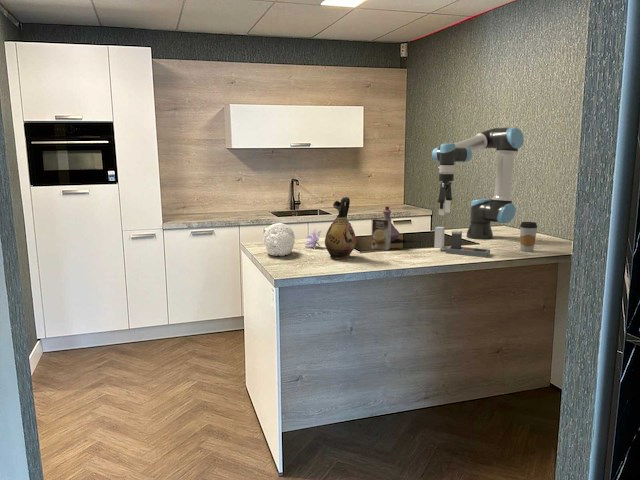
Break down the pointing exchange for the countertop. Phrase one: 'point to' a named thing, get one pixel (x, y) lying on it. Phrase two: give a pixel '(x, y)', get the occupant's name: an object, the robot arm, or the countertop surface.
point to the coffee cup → (527, 236)
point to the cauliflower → (279, 239)
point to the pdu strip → (467, 251)
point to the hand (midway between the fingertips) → (444, 213)
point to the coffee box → (381, 233)
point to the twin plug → (456, 240)
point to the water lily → (313, 239)
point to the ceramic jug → (340, 233)
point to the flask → (393, 230)
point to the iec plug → (439, 237)
